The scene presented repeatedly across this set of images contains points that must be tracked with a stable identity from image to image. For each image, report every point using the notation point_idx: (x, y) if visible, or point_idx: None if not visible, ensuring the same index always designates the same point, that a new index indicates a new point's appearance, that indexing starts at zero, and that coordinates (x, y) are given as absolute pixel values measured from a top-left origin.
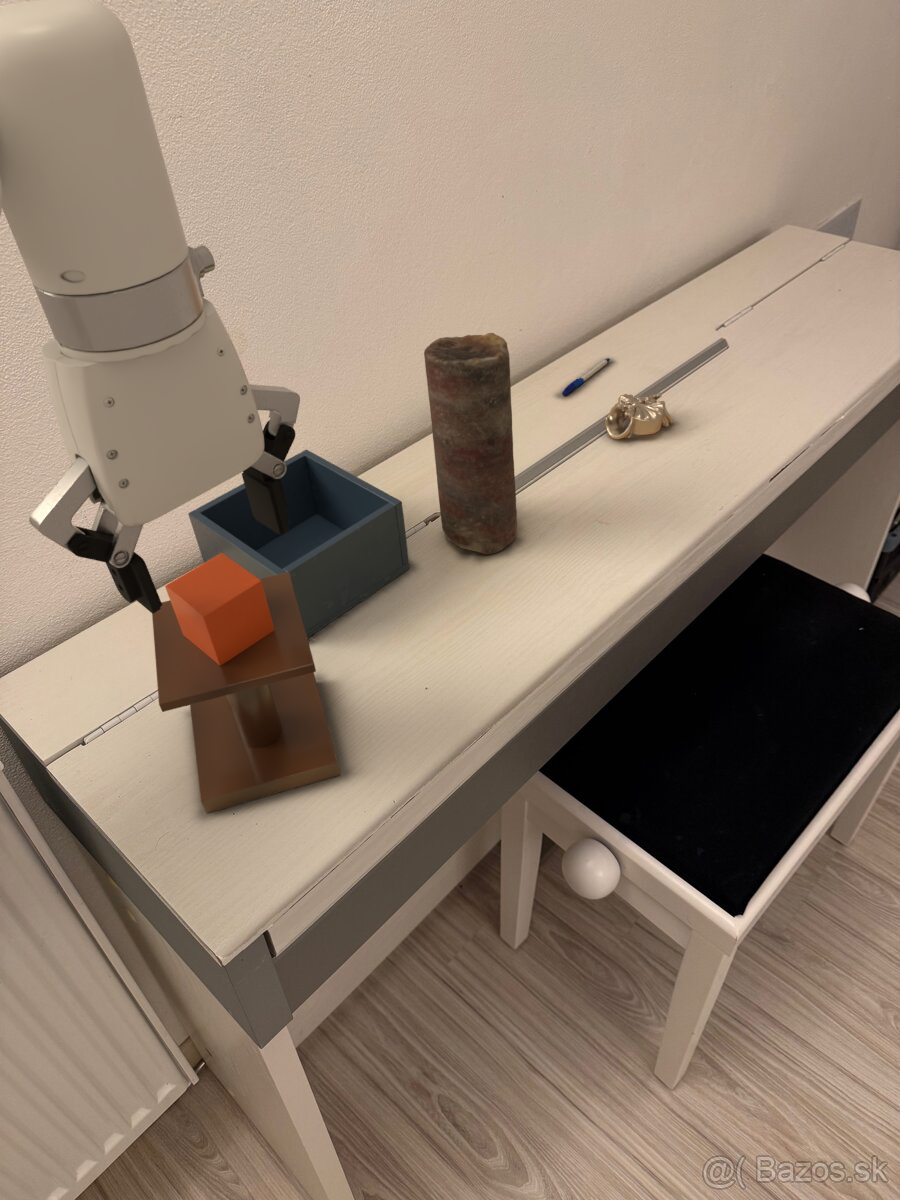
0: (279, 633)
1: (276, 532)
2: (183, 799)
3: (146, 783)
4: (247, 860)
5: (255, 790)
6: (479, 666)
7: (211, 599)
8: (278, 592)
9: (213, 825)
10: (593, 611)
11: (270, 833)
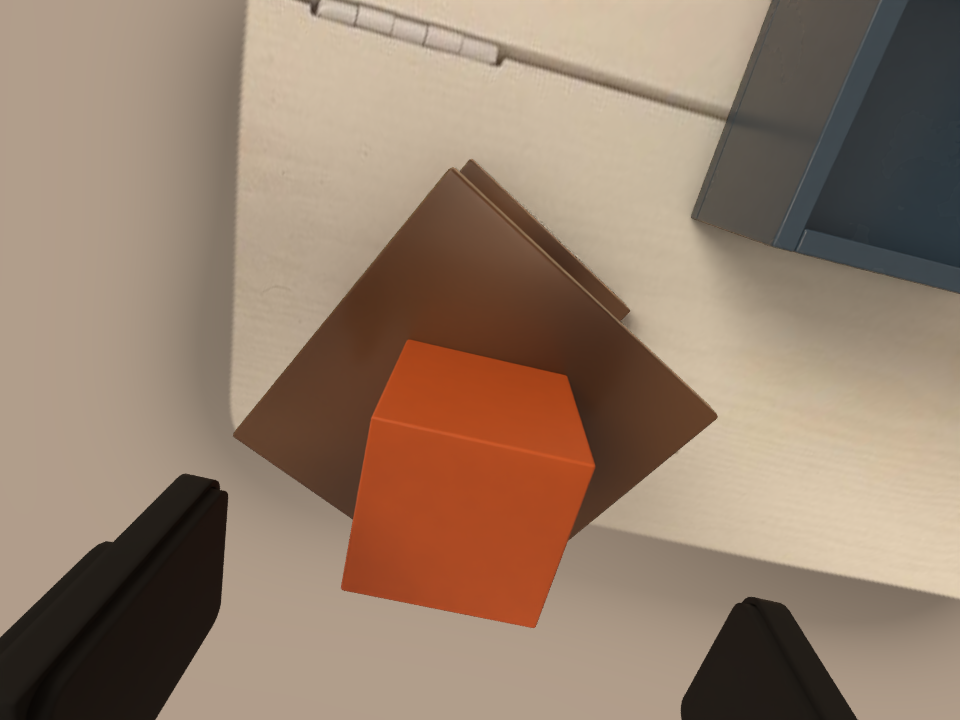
0: None
1: (685, 697)
2: (339, 269)
3: (325, 194)
4: None
5: None
6: (743, 492)
7: (403, 569)
8: (637, 441)
9: None
10: (902, 573)
11: None
